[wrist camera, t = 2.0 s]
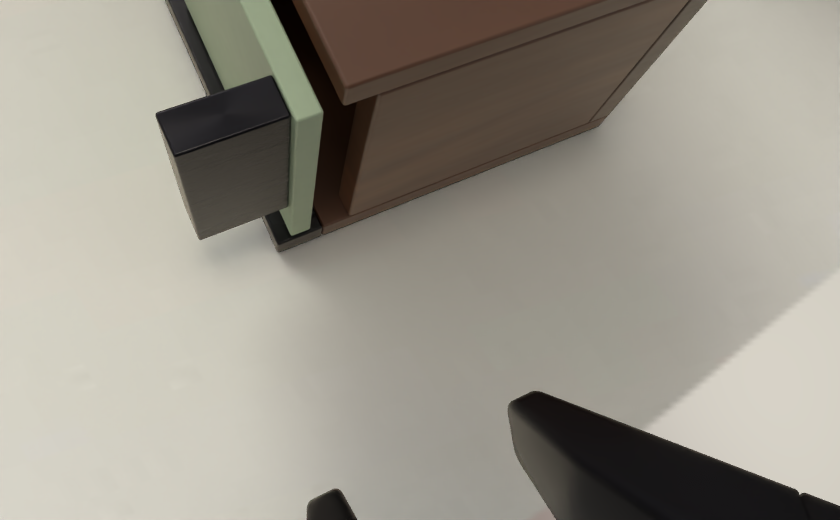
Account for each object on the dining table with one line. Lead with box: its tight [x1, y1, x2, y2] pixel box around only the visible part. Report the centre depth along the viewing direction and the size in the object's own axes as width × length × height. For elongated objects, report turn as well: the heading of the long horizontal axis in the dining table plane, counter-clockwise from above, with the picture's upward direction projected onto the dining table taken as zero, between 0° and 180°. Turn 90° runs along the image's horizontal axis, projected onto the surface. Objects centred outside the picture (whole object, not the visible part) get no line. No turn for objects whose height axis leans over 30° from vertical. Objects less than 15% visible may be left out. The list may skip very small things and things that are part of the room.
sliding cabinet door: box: [156, 0, 323, 240], centre depth 19 cm, size 8×3×7 cm, turn 26°
